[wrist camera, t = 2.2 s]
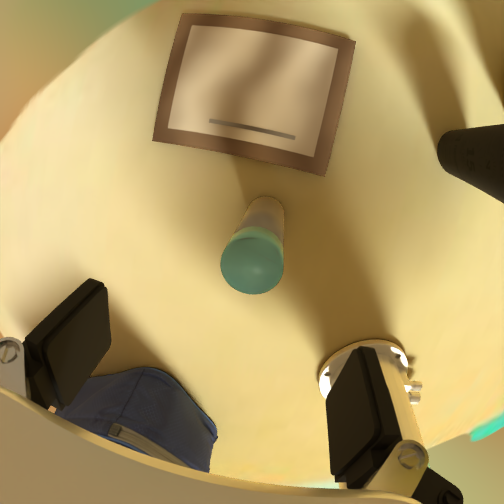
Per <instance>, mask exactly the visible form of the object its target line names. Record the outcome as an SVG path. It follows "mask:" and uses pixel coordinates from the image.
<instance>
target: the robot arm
mask: <svg viewBox="0 0 504 504" xmlns="http://www.w3.org/2000/svg"><path fill="white" fill-rule="evenodd" d="M110 345H111V333H110V322H109V309H108V292H107V288H106V287H104V283H102V282H100V281H97V280H94V279H91V278H89V279H88V280H86V281H85V282H84V283H83V284H82V285H81V286H80V287H78V288H77V289H76V290H75V291H74V292H73V293H72V294H71V295H69V296H68V297H67V298H66V299H65V300H64V301H63V302H62V303H61V304H60V305H59V306H57V307H56V308H55V309H54V310H53V311H52V312H51V313H50V314H49V315H48V316H47V317H46V318H45V319H44V320H43V321H42V322H41V323H40V324H39V325H37V326H36V327H35V328H34V329H33V330H32V331H31V332H30V333H29V334H28V335H27V336H26V337H25V341H24V342H23V343H21V341H19V340H18V339H16V338H13V337H5V338H1V339H0V504H463V495H462V493H461V491H460V490H459V489H458V488H457V487H456V486H455V485H453V484H452V483H450V482H449V481H447V480H446V479H445V478H443V477H441V476H440V475H439V474H437V473H436V472H434V471H433V470H432V469H431V468H430V465H429V459H428V458H429V457H428V454H427V451H426V449H425V447H424V444H423V441H422V437H421V434H420V431H419V427H418V424H417V421H416V418H415V415H414V412H413V409H412V406H411V404H413V405H416V404H418V403H419V401H420V397H421V396H420V393H419V392H408V390H413V391H420V390H421V388H422V382H420V381H409V379H408V377H407V371H408V361H407V357H406V355H405V353H404V351H403V350H402V349H401V348H400V347H399V346H398V345H396V344H395V343H392V342H390V341H386V340H380V339H377V340H365V341H360V342H357V343H353V344H351V345H348V346H346V347H344V348H342V349H341V350H339V351H337V352H336V353H335V354H333V355H332V356H331V357H330V358H329V359H328V360H327V361H326V362H325V363H324V365H323V367H322V368H321V370H320V373H319V380H318V383H319V390H320V392H321V394H322V395H323V397H324V398H325V399H326V413H327V425H328V438H329V453H330V471H331V474H332V475H335V482H339V489H325V488H307V487H294V486H283V485H274V484H266V483H259V482H252V481H246V480H240V479H235V478H229V477H224V476H219V475H215V474H210V473H206V472H202V471H198V470H194V469H190V468H186V467H183V466H179V465H176V464H172V463H169V462H166V461H163V460H160V459H157V458H154V457H151V456H148V455H145V454H142V453H139V452H137V451H134V450H131V449H129V448H126V447H124V446H121V445H119V444H116V443H114V442H111V441H109V440H107V439H104V438H102V437H100V436H98V435H95V434H93V433H91V432H89V431H87V430H85V429H83V428H81V427H79V426H77V425H75V424H73V423H71V422H69V421H67V420H65V419H63V418H61V417H59V416H57V415H55V414H54V413H52V412H50V411H48V409H49V407H50V406H53V407H55V408H57V409H59V410H60V411H62V410H63V409H64V407H65V406H69V405H70V404H71V403H72V401H73V400H74V398H75V397H76V395H77V394H78V392H79V391H80V389H81V388H82V386H83V385H84V384H85V382H86V381H87V379H88V378H89V376H90V375H91V373H92V372H93V370H94V369H95V368H96V366H97V365H98V363H99V362H100V360H101V359H102V358H103V356H104V355H105V353H106V352H107V351H108V349H109V348H110Z"/></svg>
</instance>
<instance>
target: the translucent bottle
mask: <svg viewBox="0 0 504 504" xmlns="http://www.w3.org/2000/svg"><path fill="white" fill-rule="evenodd" d="M283 242H284V209H283V207H282V205H281V204H280V203H279V202H278V201H277V200H276V199H274V198H272V197H266V196H264V197H259V198H257V199H255V200H254V201H253V202H252V203H251V204H250V205H249V207H248V209H247V211H246V213H245V214H244V216H243V218H242V220H241V222H240V224H239V226H238V227H237V229H236V231H235V233H234V235H233V236H232V237H231V239H230V241H229V243H228V244H227V246H226V248H225V250H224V252H223V254H222V257H221V263H220V264H221V271H222V274H223V277H224V278H225V280H226V281H227V283H228V284H229V285H230V286H231V287H233V288H234V289H236V290H237V291H240V292H242V293H246V294H261V293H265V292H267V291H269V290H271V289H272V288H273V287H275V286H276V285H277V283H278V282H279V281H280V279H281V277H282V274H283V264H284V250H283Z"/></svg>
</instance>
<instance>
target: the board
mask: <svg viewBox="0 0 504 504" xmlns="http://www.w3.org/2000/svg"><path fill="white" fill-rule="evenodd" d="M355 44H356V41H353V40H350V39H346V38H343V37H340V36H336V35H333V34H329V33H325V32H321V31H318V30H313V29H309V28H305V27H300V26H296V25H291V24H286V23H280V22H274V21H268V20H262V19H255V18H247V17H238V16H227V15H213V14H182V16H181V19H180V22H179V26H178V29H177V32H176V36H175V39H174V43H173V47H172V50H171V54H170V58H169V62H168V66H167V70H166V74H165V79H164V83H163V88H162V92H161V97H160V102H159V107H158V112H157V117H156V123H155V128H154V134H153V140H152V141H156V142H163V143H170V144H176V145H182V146H188V147H194V148H200V149H206V150H211V151H216V152H222V153H227V154H232V155H237V156H241V157H246V158H251V159H255V160H260V161H264V162H269V163H273V164H277V165H281V166H285V167H289V168H293V169H297V170H301V171H305V172H309V173H313V174H316V175H320V176H324V177H325V174H326V170H327V167H328V163H329V159H330V155H331V151H332V147H333V143H334V139H335V135H336V131H337V127H338V122H339V118H340V114H341V110H342V105H343V101H344V97H345V92H346V87H347V83H348V78H349V74H350V69H351V64H352V59H353V54H354V49H355Z"/></svg>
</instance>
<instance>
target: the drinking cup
mask: <svg viewBox="0 0 504 504" xmlns="http://www.w3.org/2000/svg"><path fill="white" fill-rule="evenodd" d="M438 158H439V161H440V164H441V166H442V167H443V169H444V170H445V171H446V172H448V173H449V174H451V175H453V176H455V177H457V178H459V179H461V180H463V181H465V182H467V183H469V184H471V185H473V186H474V187H476V188H478V189H480V190H482V191H483V192H485V193H487V194H489V195H490V196H492V197H494V198H496V199H497V200H499V201H501V202H502V203H504V124H500V125H492V126H483V127H476V128H468V129H462V130H455V131H449V132H447V133H445V134H444V135H443V136H442V137H441V139H440V141H439V144H438Z"/></svg>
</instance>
